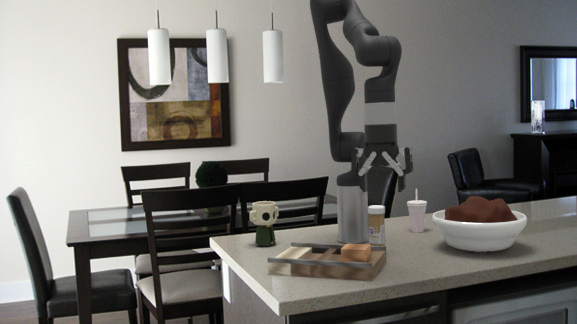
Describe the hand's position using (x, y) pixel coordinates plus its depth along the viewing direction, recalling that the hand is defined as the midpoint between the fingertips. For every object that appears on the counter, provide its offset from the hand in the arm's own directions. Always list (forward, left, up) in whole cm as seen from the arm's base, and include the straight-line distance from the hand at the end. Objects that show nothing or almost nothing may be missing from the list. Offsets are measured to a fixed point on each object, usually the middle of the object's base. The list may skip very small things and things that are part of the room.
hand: (382, 191), depth 135 cm
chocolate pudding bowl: (-38, -6, -21) cm, 43 cm away
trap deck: (+6, -15, -20) cm, 26 cm away
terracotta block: (+3, -6, -17) cm, 19 cm away
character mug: (+7, -48, -21) cm, 52 cm away
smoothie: (-41, -34, -21) cm, 57 cm away
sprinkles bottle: (-12, -18, -21) cm, 29 cm away
